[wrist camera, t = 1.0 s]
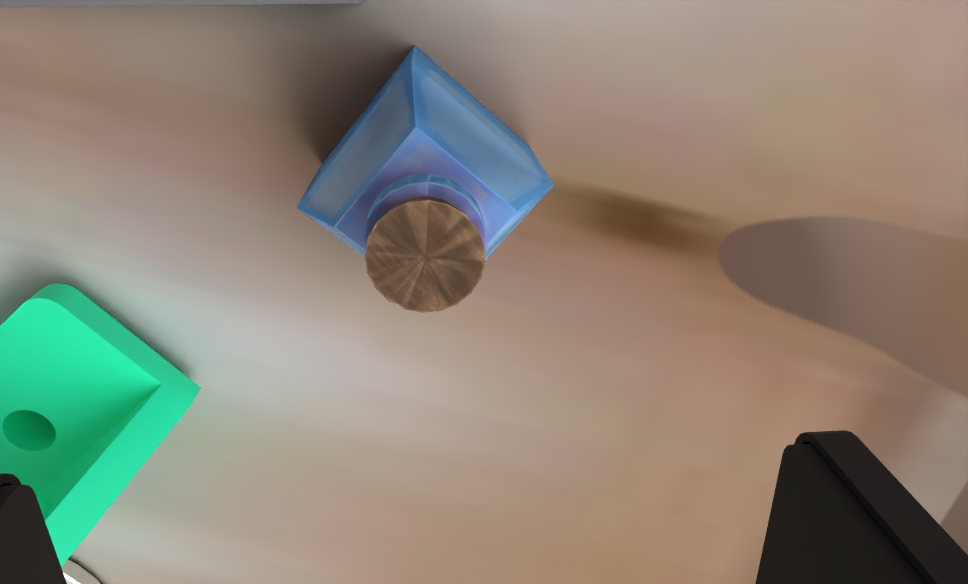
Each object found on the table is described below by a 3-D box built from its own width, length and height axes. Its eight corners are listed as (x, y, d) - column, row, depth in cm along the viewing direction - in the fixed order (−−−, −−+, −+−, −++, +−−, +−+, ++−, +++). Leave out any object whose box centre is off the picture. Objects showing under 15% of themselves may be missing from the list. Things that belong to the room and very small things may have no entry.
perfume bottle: (529, 146, 29) (590, 243, 18) (436, 252, 31) (441, 398, 20) (414, 45, 27) (406, 86, 16) (321, 163, 29) (257, 273, 18)
